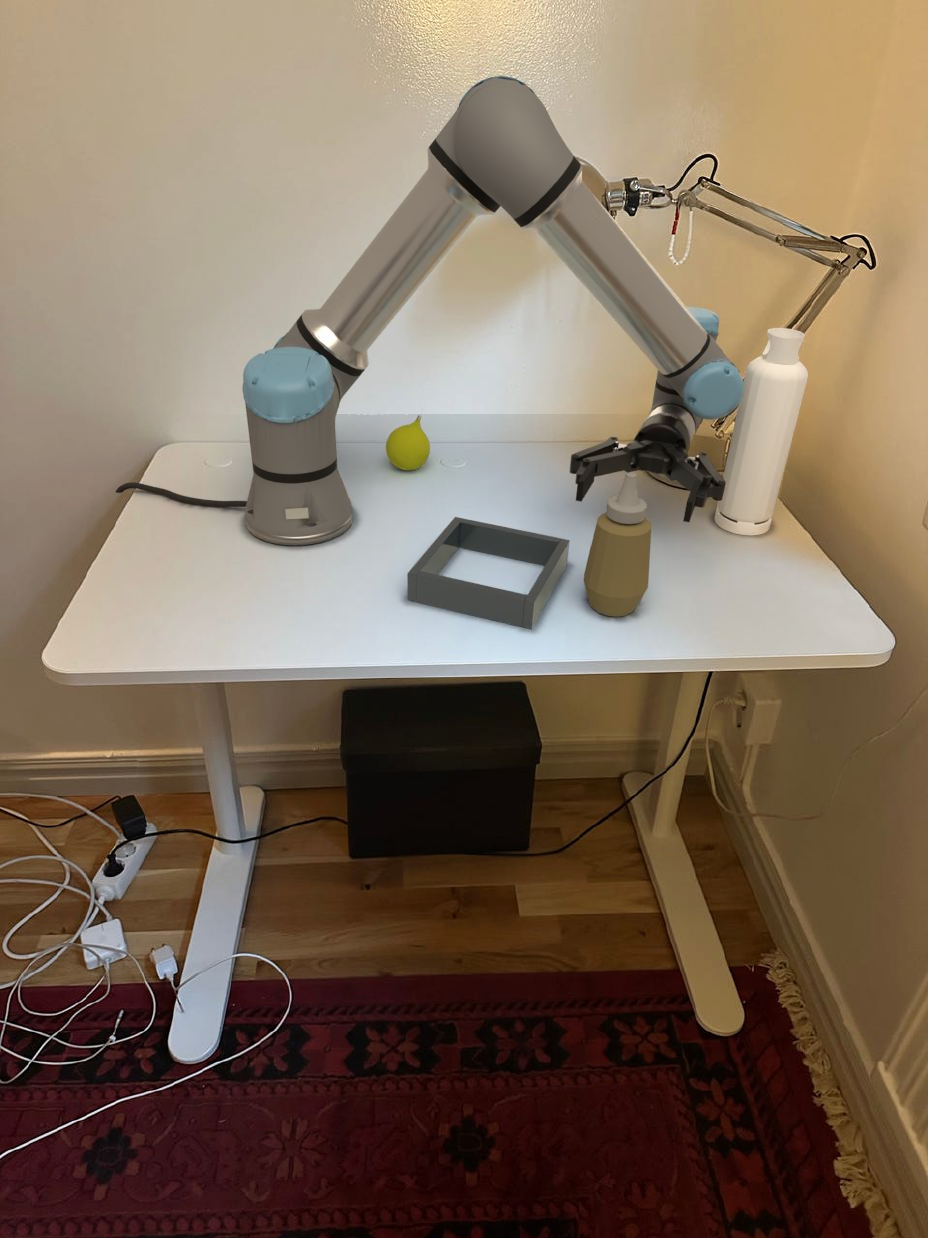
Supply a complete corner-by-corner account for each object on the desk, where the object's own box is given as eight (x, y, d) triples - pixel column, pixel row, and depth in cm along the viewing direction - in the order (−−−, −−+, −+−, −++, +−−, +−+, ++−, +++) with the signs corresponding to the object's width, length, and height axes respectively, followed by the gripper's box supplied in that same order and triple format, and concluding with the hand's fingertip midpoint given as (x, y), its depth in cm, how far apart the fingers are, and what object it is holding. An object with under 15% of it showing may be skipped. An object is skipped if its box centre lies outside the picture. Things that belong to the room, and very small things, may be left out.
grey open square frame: (407, 600, 111) (407, 573, 109) (454, 541, 124) (455, 516, 122) (531, 629, 107) (534, 601, 104) (567, 565, 119) (569, 539, 117)
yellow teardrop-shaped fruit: (438, 468, 144) (439, 410, 138) (406, 481, 140) (406, 421, 134) (409, 455, 148) (408, 397, 142) (377, 467, 144) (375, 408, 138)
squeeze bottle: (567, 604, 111) (582, 474, 101) (604, 581, 116) (622, 454, 106) (620, 630, 107) (641, 496, 97) (656, 605, 112) (680, 475, 102)
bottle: (772, 538, 128) (822, 344, 112) (715, 531, 129) (756, 339, 113) (767, 513, 134) (814, 327, 118) (713, 507, 135) (752, 321, 120)
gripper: (748, 479, 124) (729, 548, 108) (576, 449, 131) (534, 509, 115) (759, 429, 120) (742, 492, 103) (581, 401, 127) (538, 455, 110)
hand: (632, 501), depth 109 cm, fingers open, 13 cm apart
